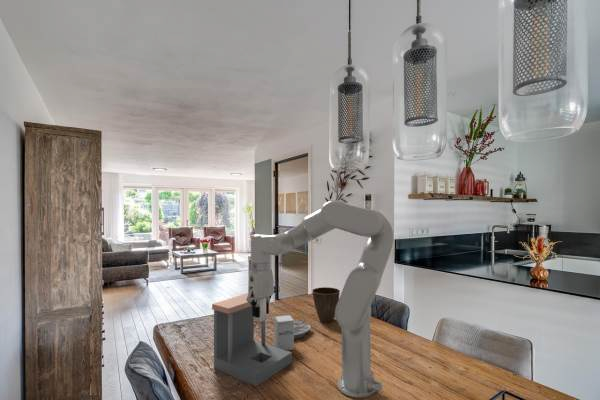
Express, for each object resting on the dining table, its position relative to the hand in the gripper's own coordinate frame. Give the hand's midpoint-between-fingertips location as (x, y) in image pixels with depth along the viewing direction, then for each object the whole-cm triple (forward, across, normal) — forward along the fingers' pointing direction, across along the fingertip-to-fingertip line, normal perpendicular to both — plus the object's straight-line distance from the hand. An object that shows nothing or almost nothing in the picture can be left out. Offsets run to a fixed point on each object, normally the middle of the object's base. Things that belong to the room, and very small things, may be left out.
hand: (260, 314), depth 118 cm
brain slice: (+21, +35, +11) cm, 42 cm away
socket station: (+20, 0, +4) cm, 21 cm away
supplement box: (+20, +19, +4) cm, 28 cm away
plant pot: (+20, +58, +6) cm, 62 cm away
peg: (+2, 0, 0) cm, 2 cm away
